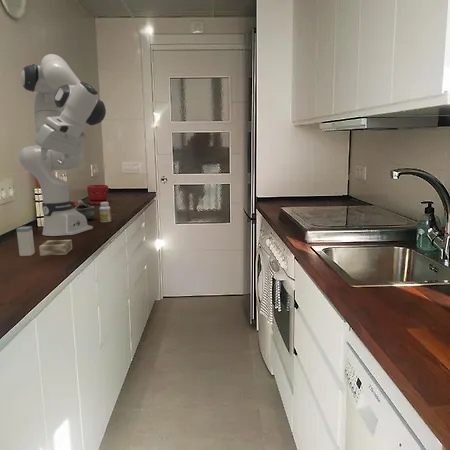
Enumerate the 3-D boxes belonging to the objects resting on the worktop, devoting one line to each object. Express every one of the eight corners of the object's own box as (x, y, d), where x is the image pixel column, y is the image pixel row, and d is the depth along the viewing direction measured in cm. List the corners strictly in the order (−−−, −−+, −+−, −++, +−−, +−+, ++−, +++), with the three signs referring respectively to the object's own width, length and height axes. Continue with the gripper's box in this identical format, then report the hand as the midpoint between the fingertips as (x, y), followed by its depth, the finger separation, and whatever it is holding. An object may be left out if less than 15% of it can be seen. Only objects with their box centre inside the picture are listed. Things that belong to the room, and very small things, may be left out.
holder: (72, 248, 172) (71, 239, 171) (65, 254, 163) (64, 245, 162) (48, 249, 171) (47, 240, 171) (40, 255, 163) (39, 246, 162)
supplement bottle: (107, 220, 232) (105, 201, 230) (113, 221, 228) (112, 202, 227) (98, 221, 228) (96, 202, 226) (104, 222, 224) (103, 203, 222)
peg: (34, 252, 167) (31, 226, 165) (31, 255, 163) (27, 228, 161) (23, 253, 167) (20, 226, 165) (19, 255, 163) (16, 228, 161)
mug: (81, 223, 226) (79, 203, 224) (69, 220, 234) (67, 201, 232) (98, 220, 233) (97, 200, 231) (85, 217, 241) (84, 199, 239)
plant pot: (98, 205, 285) (96, 186, 283) (84, 204, 293) (82, 186, 290) (113, 202, 296) (112, 184, 294) (99, 201, 303) (98, 184, 301)
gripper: (81, 129, 169) (64, 162, 171) (42, 116, 150) (24, 152, 152) (93, 137, 167) (76, 170, 169) (55, 124, 148) (37, 161, 150)
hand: (51, 161), depth 160 cm, fingers open, 8 cm apart
